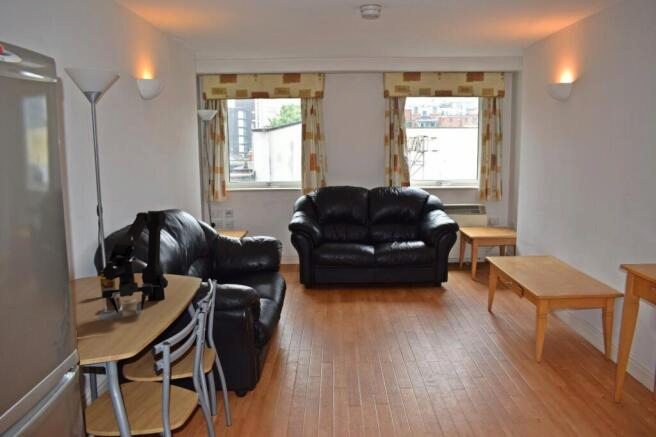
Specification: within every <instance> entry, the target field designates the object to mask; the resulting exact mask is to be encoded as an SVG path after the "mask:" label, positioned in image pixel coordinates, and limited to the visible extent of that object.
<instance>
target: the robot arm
mask: <svg viewBox="0 0 656 437" xmlns="http://www.w3.org/2000/svg"><path fill="white" fill-rule="evenodd" d="M135 216H136V217H135V219H134V220H133V222H132V224H131V225H130V227H129V229H128V230H127V232H126V234H125V235H124V236H122V237H121V238H119V239H117V241H116V242H115V243H114V244H113V247H112V251H111V254H110V257H109V261H107V262H106V266H104V267H103V275H104V277H105V278H106V279H107V280H113V279H115V280H116V279H118V282H119V283H118V288H116V290H114V287H111V288H105V289H104V290H103V292H102V291H101V295H102V299H105V301H106V300H110V301H111V303H112V304H113V306H114V308H115V310H116V312H117V313H118V305H117V300H116V295H115V294H120V298H125V297H132V296H134V293H140V292H141V300H140V303H141V311H143V310H144V305H145V301H146V299H147V300H148V302H159V301H163V300H166V299H165V298H166V295H165V289H167V287H168V284H169V281H168V280H167V278H166V277H165V276H164V270H163V269H162V267H161V265H160V259H161V258H160V257H161V256H160V255H161V254H160V253H161V235H162V234H161V232H162V230H164V229H163V228H164V227H165V224H166V219H167V216H166V214H165V212H164V211H163V210H147V211H145V212H143V211H142V212H138V213H136V215H135ZM145 228H146V230H147V232H148V234H147V235H148V238H147V239H148V240H147V262H146V263H147V264H146V266H145V268H142V269H141V281H142V283H141V286H139V285H138V284H139V283H138V282H136V279H135V269H134V261H136V259H137V258H136V257H135V256H134V255H135V252H136V250H137V247H138V246H137V242H138V240H139V238H140V236H141V235H142V233H143V231H144V230H145Z"/></svg>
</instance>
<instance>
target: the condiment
mask: <svg viewBox="0 0 656 437" xmlns="http://www.w3.org/2000/svg"><path fill="white" fill-rule="evenodd" d="M103 270H104V269H103ZM103 270H100V290H101V293H102V292H103V290H104V289H105V288H111V287H114V290H116V289H117V288H116V287H117V286H116V279H113V280H107V279H106V278H105V277H104V275H103ZM115 295H120V294H115ZM95 297H96V298H100V299H101V298H102V294H99V295H97V296H95ZM102 299H103V298H102Z"/></svg>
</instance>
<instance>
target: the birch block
mask: <svg viewBox="0 0 656 437" xmlns="http://www.w3.org/2000/svg"><path fill="white" fill-rule="evenodd" d="M136 303H137V299H128V300H127V299H125V300H122V302H121V305H122V311H123V316H131V315H136V314H137V304H136Z"/></svg>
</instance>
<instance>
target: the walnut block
mask: <svg viewBox="0 0 656 437" xmlns="http://www.w3.org/2000/svg"><path fill="white" fill-rule="evenodd" d="M116 300H117V305H118V310H120V308H121V305H122V302H121V301H122V300H121V297H120V295H116ZM105 305H106V306H105V307H107V311H112V310H115V308H114V306H113V304H112V303H111V301H110V300H106V299H105Z"/></svg>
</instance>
